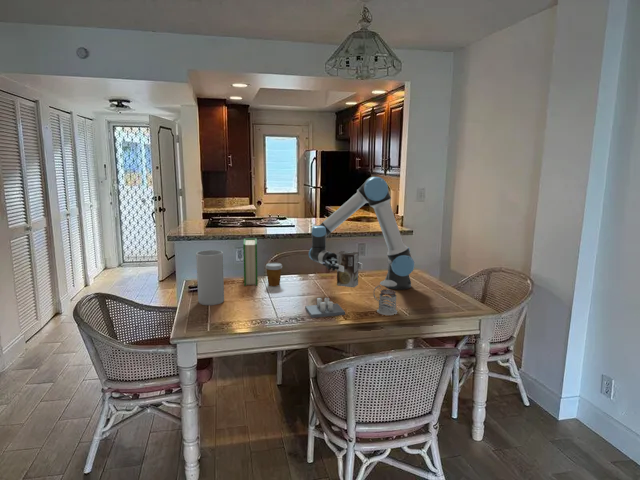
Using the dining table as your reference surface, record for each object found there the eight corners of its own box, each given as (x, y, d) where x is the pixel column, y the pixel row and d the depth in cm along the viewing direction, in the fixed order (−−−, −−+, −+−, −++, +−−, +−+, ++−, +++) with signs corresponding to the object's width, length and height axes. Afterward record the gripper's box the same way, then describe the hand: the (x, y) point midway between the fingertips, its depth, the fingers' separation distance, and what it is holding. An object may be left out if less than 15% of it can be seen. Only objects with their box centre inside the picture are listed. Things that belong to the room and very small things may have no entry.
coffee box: (358, 284, 206) (359, 252, 203) (354, 287, 200) (354, 254, 197) (341, 282, 210) (341, 250, 207) (336, 285, 204) (336, 252, 201)
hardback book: (257, 285, 238) (256, 243, 234) (244, 286, 237) (243, 244, 233) (257, 277, 255) (256, 238, 251) (244, 277, 254) (243, 238, 250)
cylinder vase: (228, 299, 214) (227, 251, 210) (216, 307, 202) (214, 256, 198) (206, 296, 217) (204, 249, 213) (193, 304, 206) (191, 254, 201)
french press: (397, 316, 193) (400, 262, 189) (372, 313, 196) (374, 261, 191) (398, 308, 203) (400, 258, 198) (373, 307, 205) (375, 256, 201)
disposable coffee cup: (285, 284, 241) (285, 263, 239) (275, 288, 233) (275, 267, 231) (272, 281, 246) (272, 261, 244) (262, 285, 238) (261, 264, 236)
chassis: (337, 306, 205) (337, 295, 204) (345, 314, 194) (345, 303, 193) (305, 308, 201) (305, 297, 200) (311, 317, 190) (311, 306, 189)
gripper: (346, 263, 225) (371, 272, 206) (309, 268, 213) (332, 278, 195) (346, 249, 223) (372, 257, 204) (309, 254, 212) (332, 262, 193)
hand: (352, 267), depth 199 cm, fingers closed on coffee box, 10 cm apart
